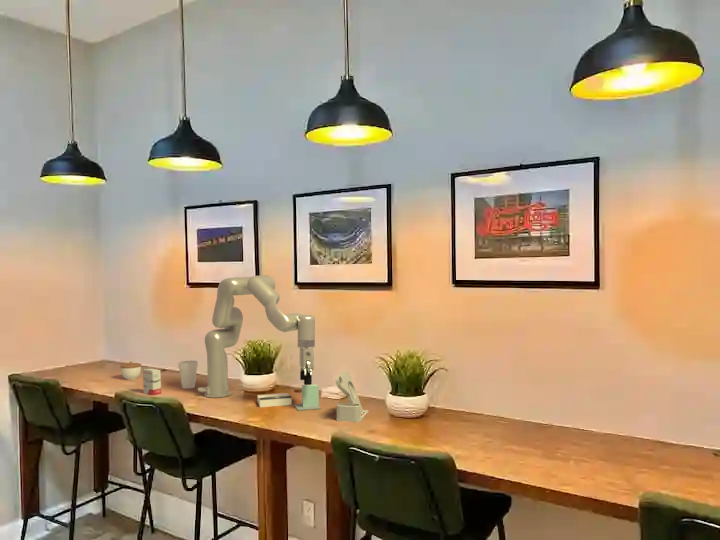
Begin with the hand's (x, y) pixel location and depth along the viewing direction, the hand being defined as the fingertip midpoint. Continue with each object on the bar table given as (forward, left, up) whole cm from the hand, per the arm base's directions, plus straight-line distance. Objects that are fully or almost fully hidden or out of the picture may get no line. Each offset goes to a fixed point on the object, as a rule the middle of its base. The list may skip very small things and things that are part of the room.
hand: (305, 382), depth 264 cm
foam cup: (-51, +60, -11) cm, 79 cm away
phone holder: (+16, -21, -11) cm, 28 cm away
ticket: (+2, 0, -11) cm, 11 cm away
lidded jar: (-82, +94, -11) cm, 125 cm away
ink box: (-68, +51, -11) cm, 85 cm away
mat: (0, 0, -11) cm, 11 cm away
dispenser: (-13, +12, -11) cm, 20 cm away
